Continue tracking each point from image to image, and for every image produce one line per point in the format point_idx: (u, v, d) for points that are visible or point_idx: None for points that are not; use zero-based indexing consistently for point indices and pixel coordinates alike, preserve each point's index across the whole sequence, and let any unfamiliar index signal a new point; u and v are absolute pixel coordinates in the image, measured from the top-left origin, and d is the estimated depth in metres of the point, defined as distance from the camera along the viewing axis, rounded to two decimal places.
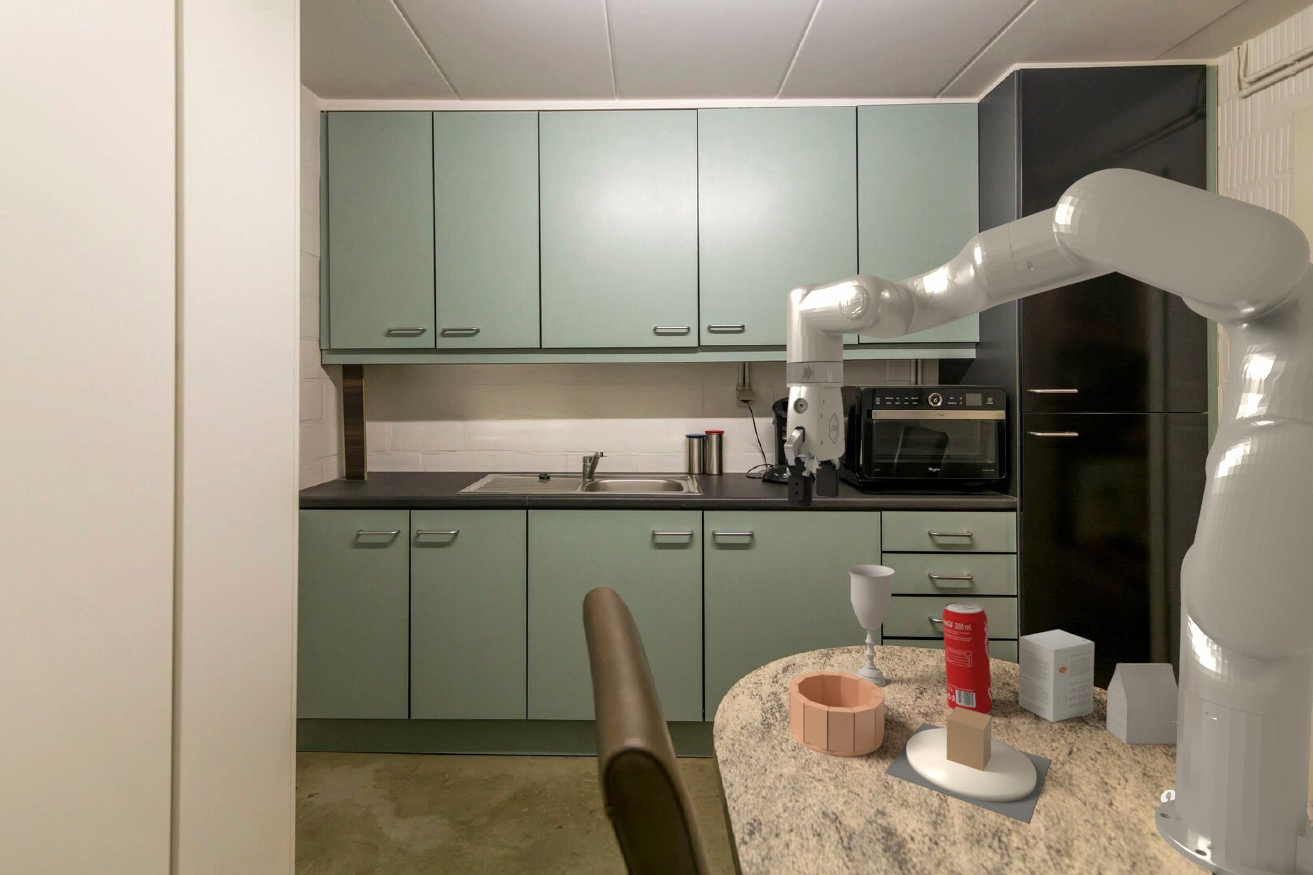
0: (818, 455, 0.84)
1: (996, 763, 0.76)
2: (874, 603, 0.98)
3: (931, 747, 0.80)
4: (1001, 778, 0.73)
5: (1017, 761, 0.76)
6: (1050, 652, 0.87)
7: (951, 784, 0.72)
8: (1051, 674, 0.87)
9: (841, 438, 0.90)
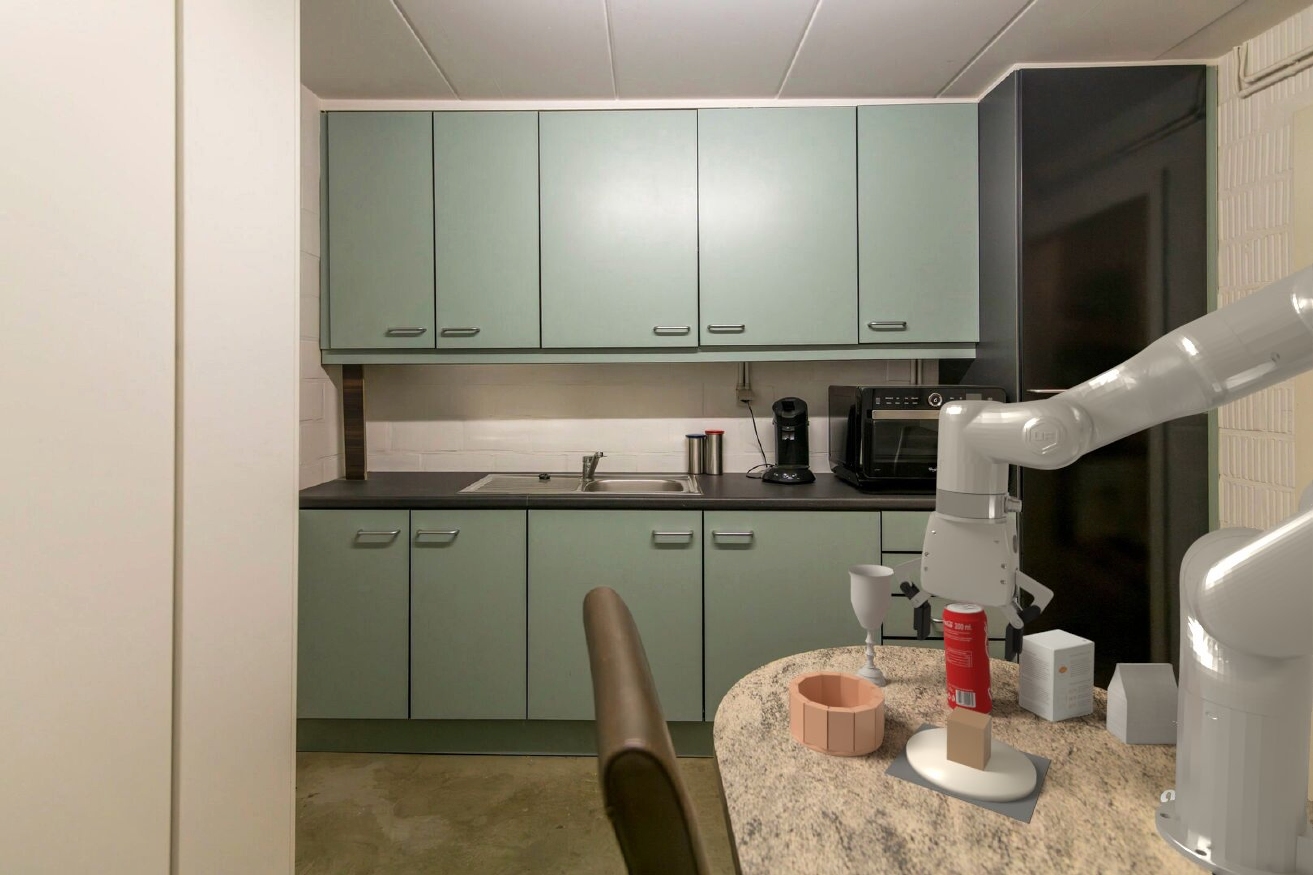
0: None
1: (996, 763, 0.76)
2: (874, 603, 0.98)
3: (931, 747, 0.80)
4: (1002, 778, 0.73)
5: (1017, 761, 0.76)
6: (1050, 652, 0.87)
7: (951, 784, 0.72)
8: (1051, 674, 0.87)
9: None
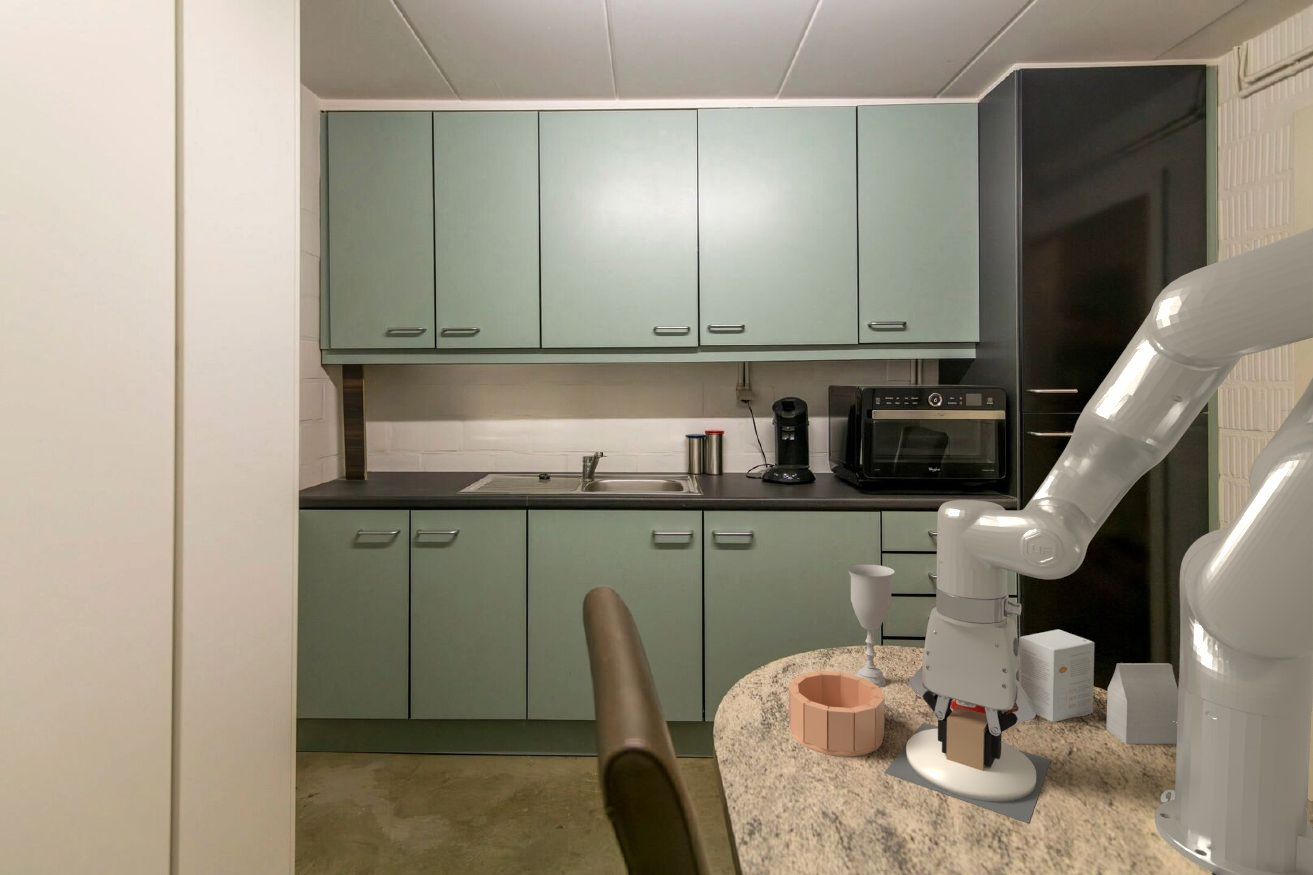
0: None
1: (996, 763, 0.76)
2: (874, 603, 0.98)
3: (931, 747, 0.80)
4: (1001, 777, 0.73)
5: (1017, 761, 0.76)
6: (1050, 652, 0.87)
7: (951, 784, 0.72)
8: (1051, 674, 0.87)
9: None
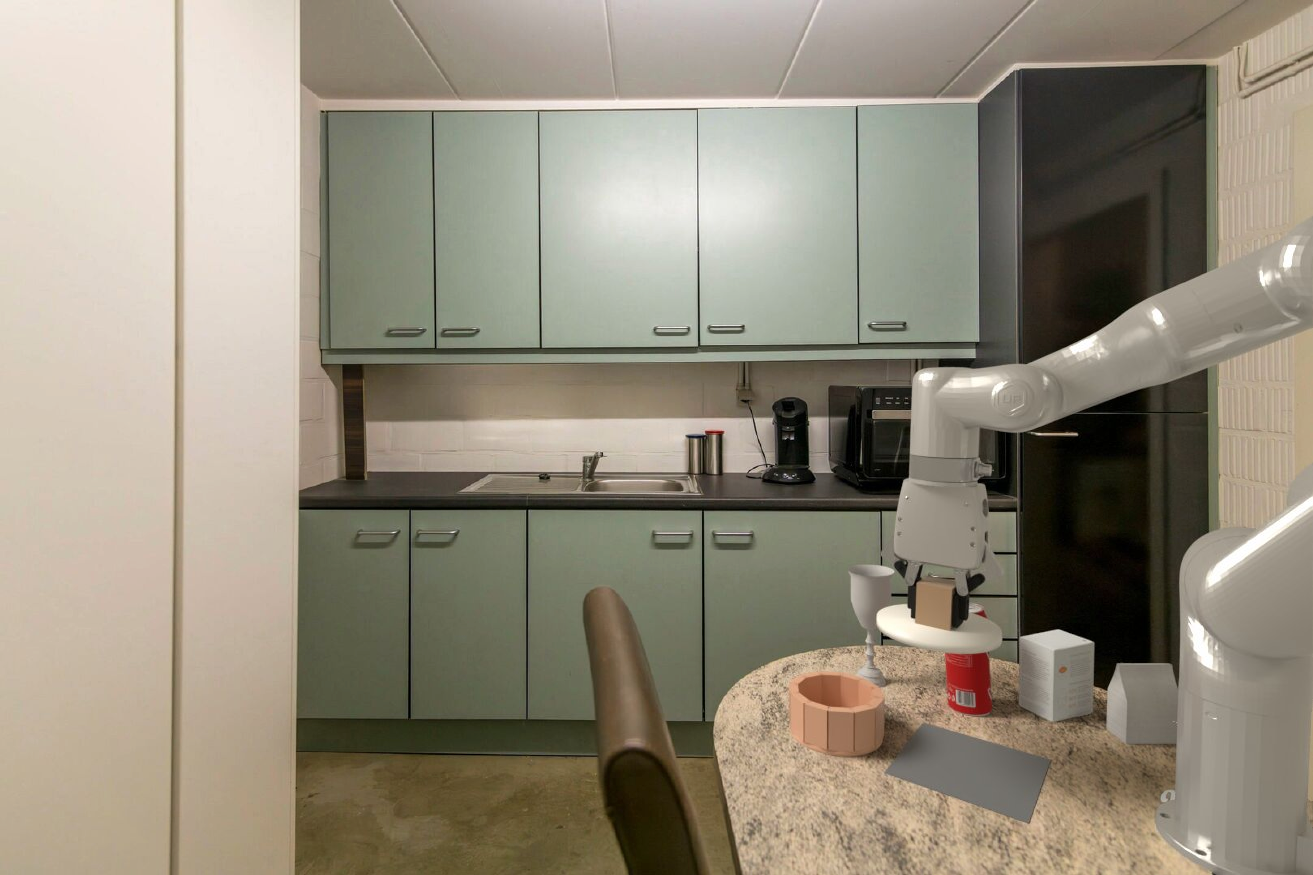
0: None
1: (964, 626, 0.77)
2: (874, 603, 0.98)
3: (901, 615, 0.81)
4: (967, 635, 0.74)
5: (984, 625, 0.78)
6: (1050, 652, 0.87)
7: (917, 638, 0.73)
8: (1051, 674, 0.87)
9: None
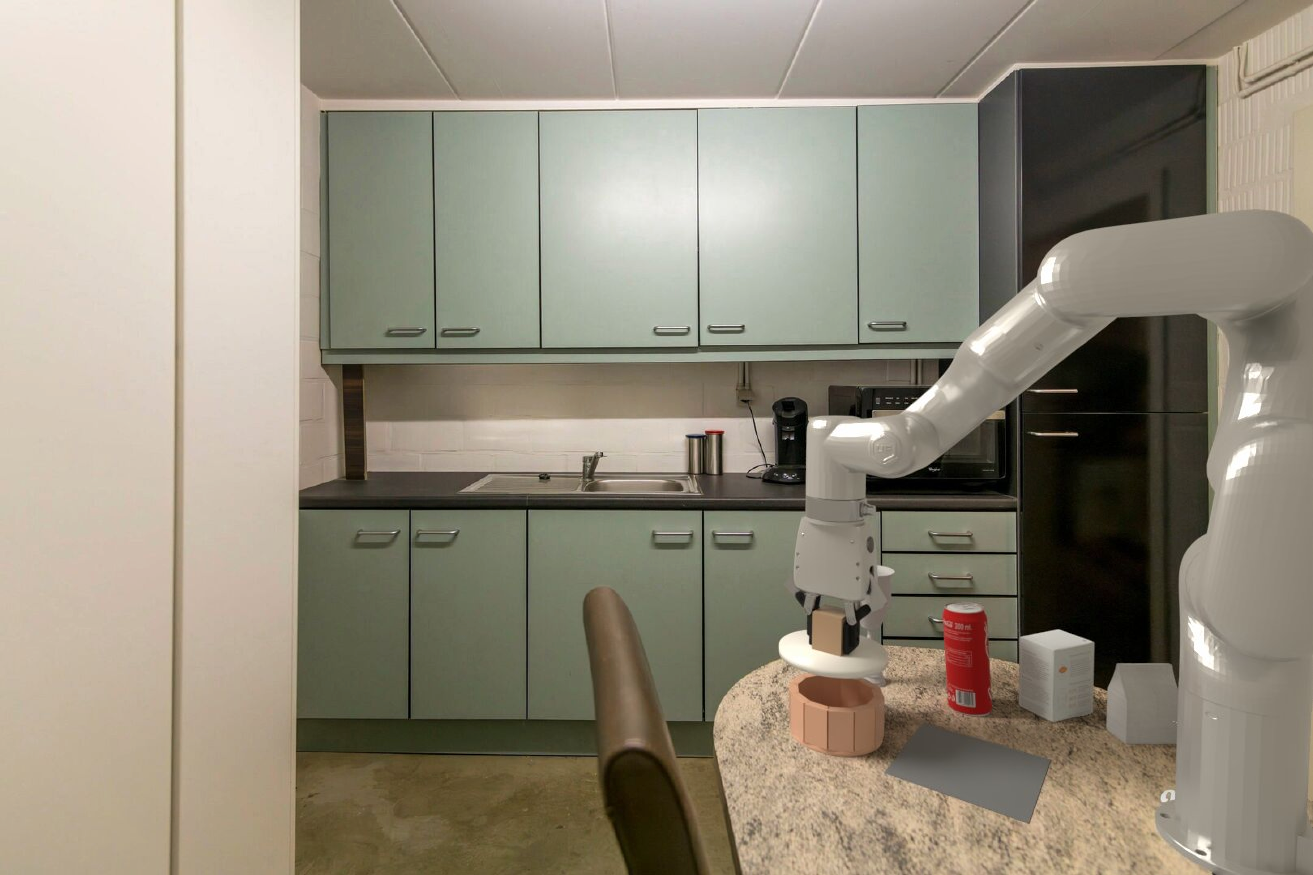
0: None
1: (855, 651, 0.84)
2: None
3: (802, 641, 0.88)
4: (855, 661, 0.81)
5: (875, 650, 0.85)
6: (1050, 652, 0.87)
7: (808, 664, 0.80)
8: (1051, 674, 0.87)
9: None
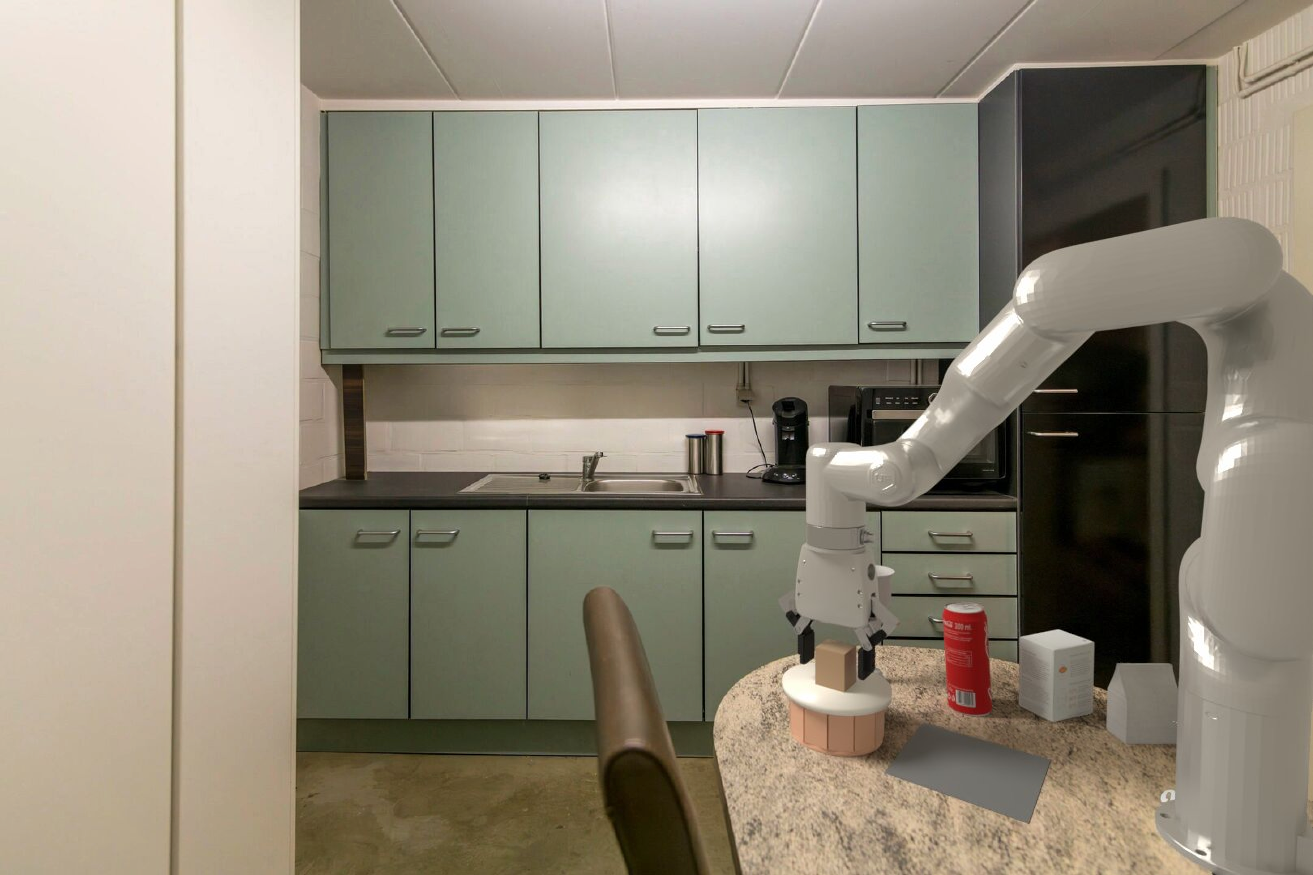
0: None
1: (858, 687, 0.84)
2: None
3: (805, 675, 0.88)
4: (858, 697, 0.81)
5: (878, 685, 0.85)
6: (1050, 652, 0.87)
7: (811, 702, 0.80)
8: (1051, 674, 0.87)
9: None
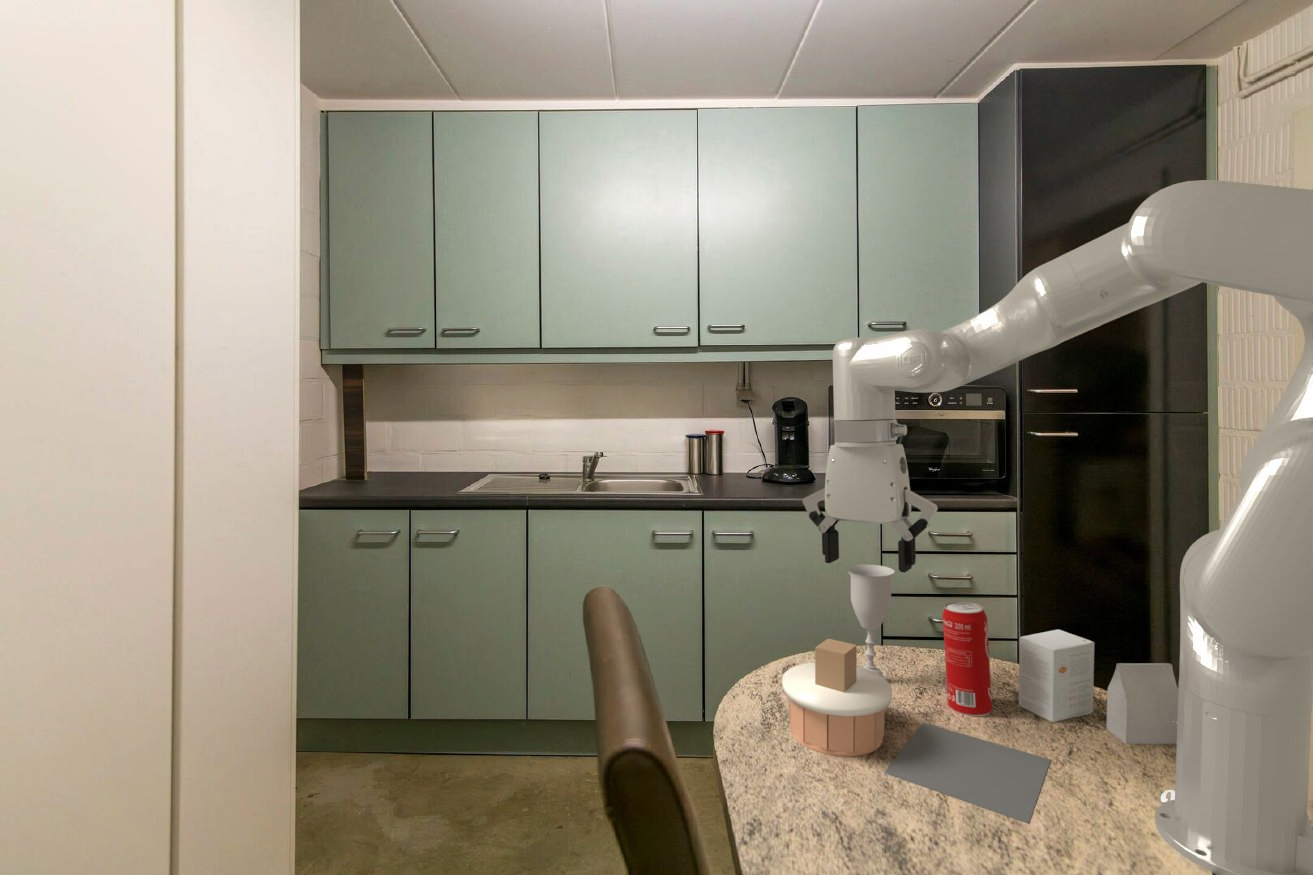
0: None
1: (858, 687, 0.84)
2: (874, 603, 0.98)
3: (805, 675, 0.88)
4: (858, 697, 0.81)
5: (878, 685, 0.85)
6: (1050, 652, 0.87)
7: (811, 702, 0.80)
8: (1051, 674, 0.87)
9: None
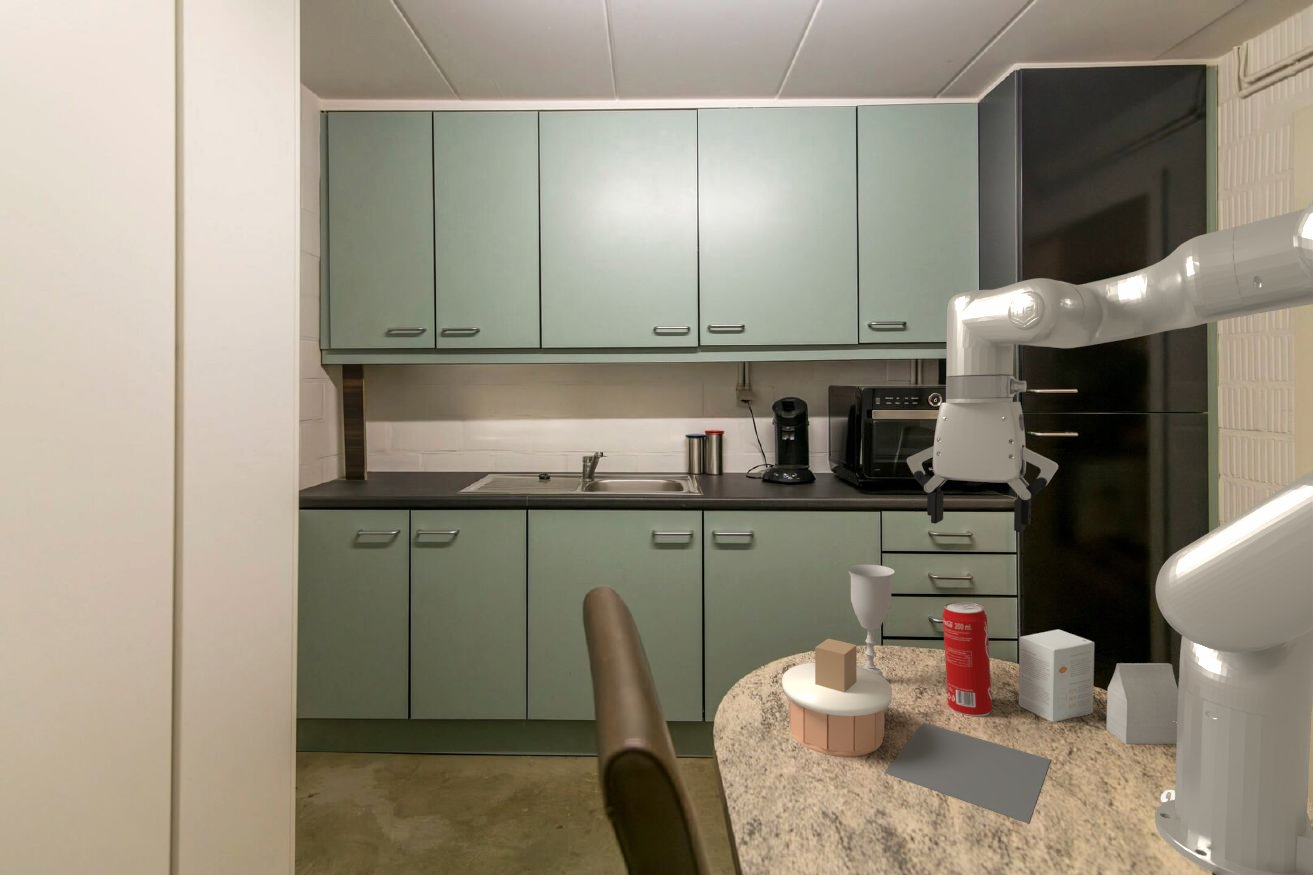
0: None
1: (858, 687, 0.84)
2: (874, 603, 0.98)
3: (805, 675, 0.88)
4: (858, 697, 0.81)
5: (878, 685, 0.85)
6: (1050, 652, 0.87)
7: (811, 702, 0.80)
8: (1051, 674, 0.87)
9: None
